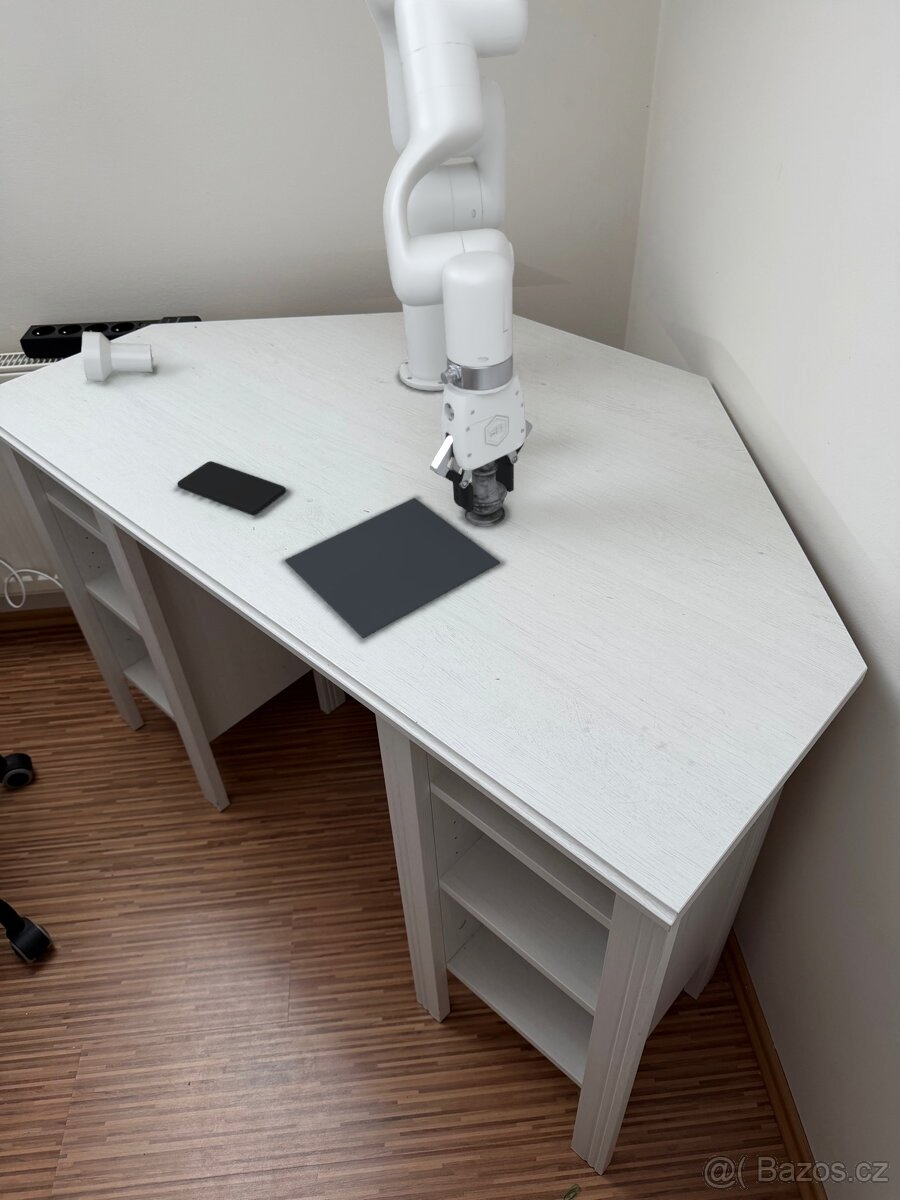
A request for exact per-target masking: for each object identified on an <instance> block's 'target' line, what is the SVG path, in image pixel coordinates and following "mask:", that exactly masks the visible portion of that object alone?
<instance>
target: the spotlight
mask: <svg viewBox="0 0 900 1200" xmlns="http://www.w3.org/2000/svg"><path fill="white" fill-rule="evenodd" d="M80 352H81V353H80V355H81V362H82V366H83V369H84V375H85V378H86V381H91V382H92V381H96V382H97V381H98V382H99V381H100V382H104V381H106V380H107V379H108V378H109V377H110V376H111V374H113V372H124V373H125V372H126V373H129V372H130V373H153V369H154V367H153V366H154V357H153V349H152V344H151V343H128V342H127V343H125V342H124V343H123V342H112V341H111V340H110V339H109V338H108V337H106V335H104V334H103V333H102V332H101V331H100V332H98V331H83V332H82V335H81V350H80Z"/></svg>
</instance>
